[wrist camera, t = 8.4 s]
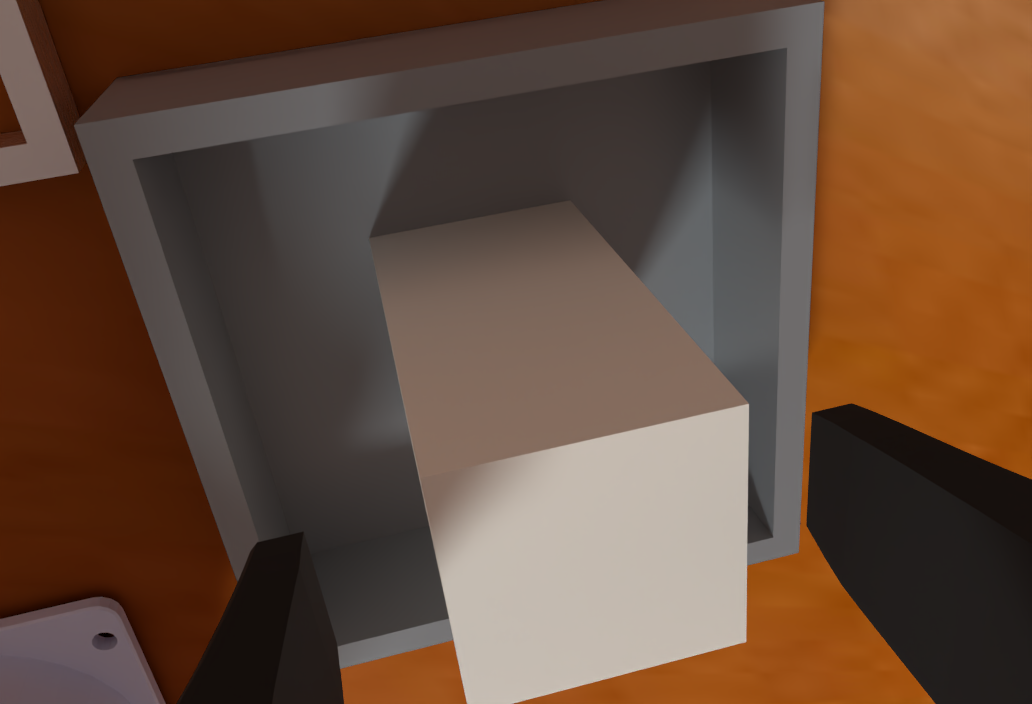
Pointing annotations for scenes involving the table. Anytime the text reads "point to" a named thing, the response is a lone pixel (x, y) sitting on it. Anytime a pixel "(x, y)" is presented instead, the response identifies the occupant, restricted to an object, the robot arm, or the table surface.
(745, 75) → the bin
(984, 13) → the table surface
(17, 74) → the steel socket
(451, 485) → the strut
